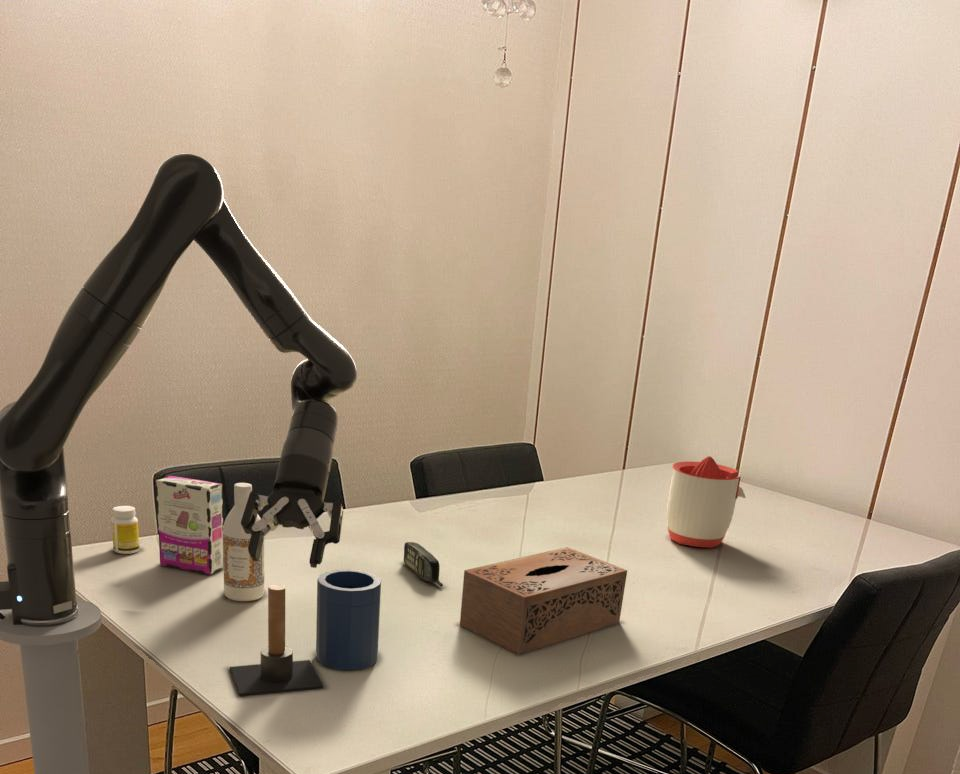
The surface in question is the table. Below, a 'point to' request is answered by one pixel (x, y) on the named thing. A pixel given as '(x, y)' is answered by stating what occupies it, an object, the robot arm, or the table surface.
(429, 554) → the mobile phone
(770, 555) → the table surface
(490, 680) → the table surface
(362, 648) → the blue pen holder
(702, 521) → the citrus juicer
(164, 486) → the candy bar box
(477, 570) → the tissue box cover
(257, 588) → the bath foam
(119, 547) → the supplement bottle
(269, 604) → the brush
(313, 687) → the mat
